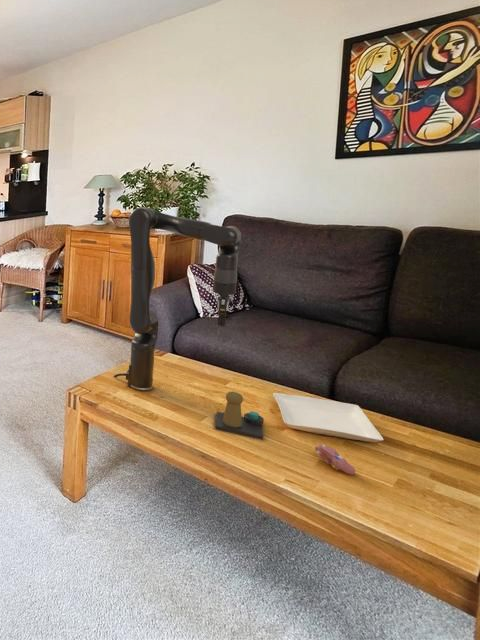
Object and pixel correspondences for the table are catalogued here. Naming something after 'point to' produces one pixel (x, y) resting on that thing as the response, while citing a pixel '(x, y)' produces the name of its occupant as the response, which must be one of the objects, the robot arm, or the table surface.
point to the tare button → (253, 415)
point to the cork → (233, 410)
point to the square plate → (326, 417)
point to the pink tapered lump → (334, 459)
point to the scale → (247, 429)
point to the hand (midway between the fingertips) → (221, 322)
